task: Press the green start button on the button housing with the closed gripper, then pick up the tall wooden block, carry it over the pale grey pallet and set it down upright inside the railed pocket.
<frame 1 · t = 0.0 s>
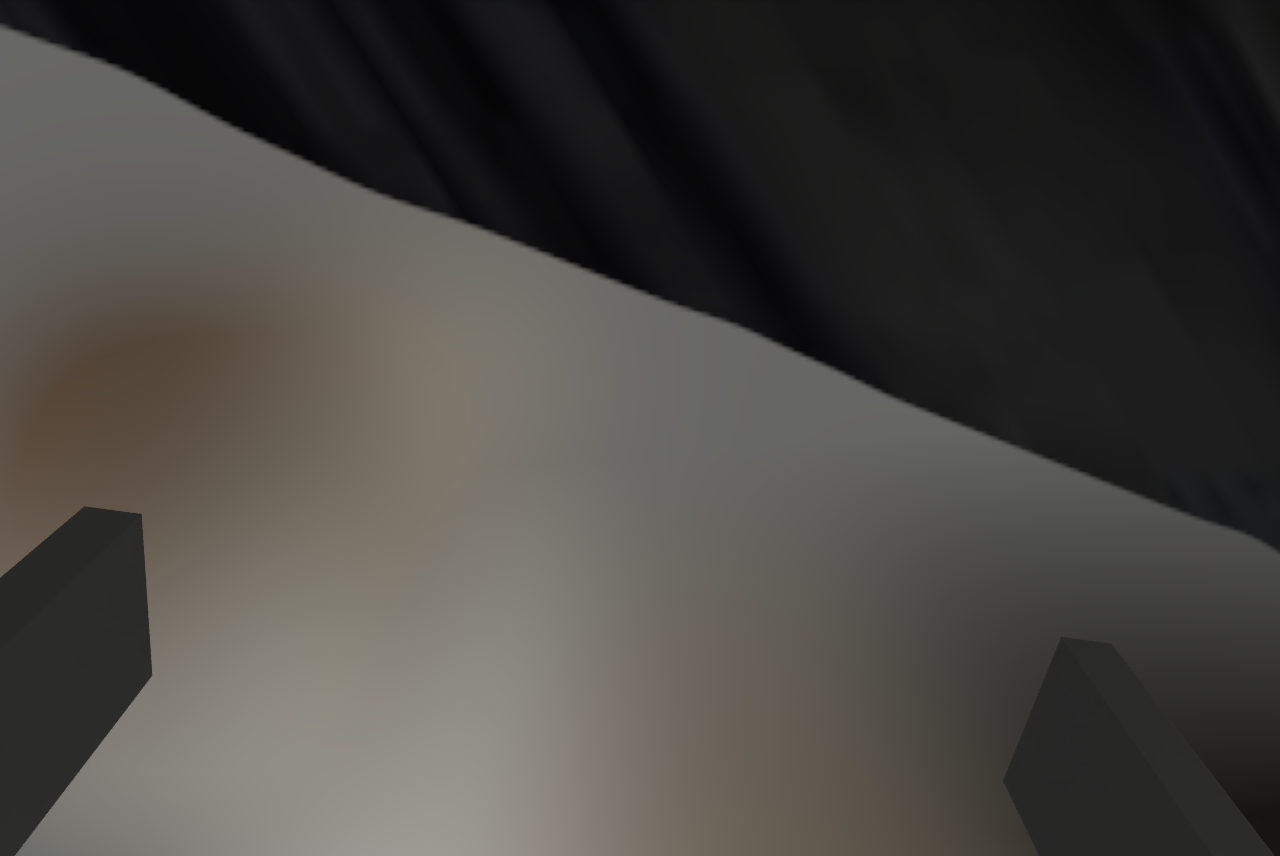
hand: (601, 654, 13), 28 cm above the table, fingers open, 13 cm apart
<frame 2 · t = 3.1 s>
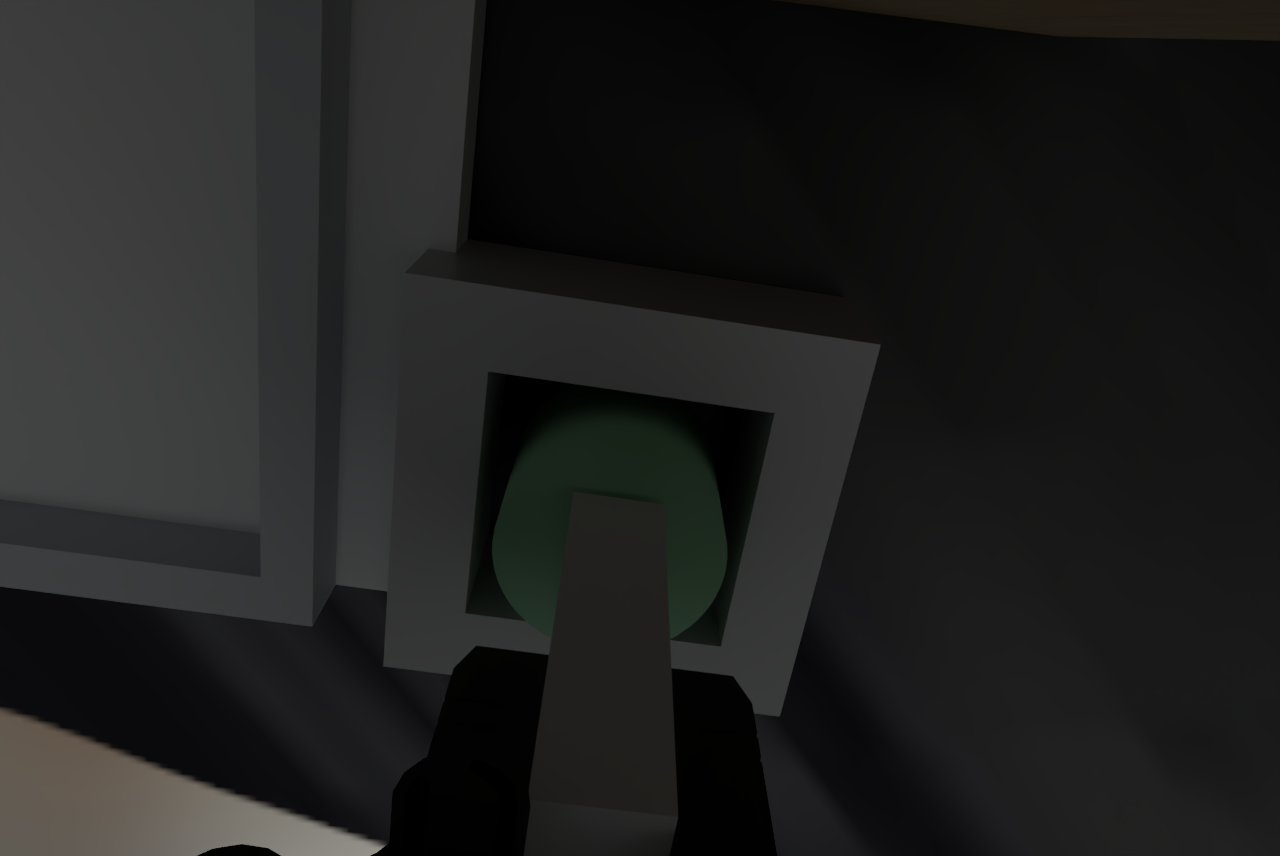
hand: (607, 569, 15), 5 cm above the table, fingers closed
button housing: (616, 449, 20), on the table
start button: (612, 508, 17), point 3 cm above the table, slide at 0.7 cm, touching gripper
pallet: (16, 169, 17), on the table
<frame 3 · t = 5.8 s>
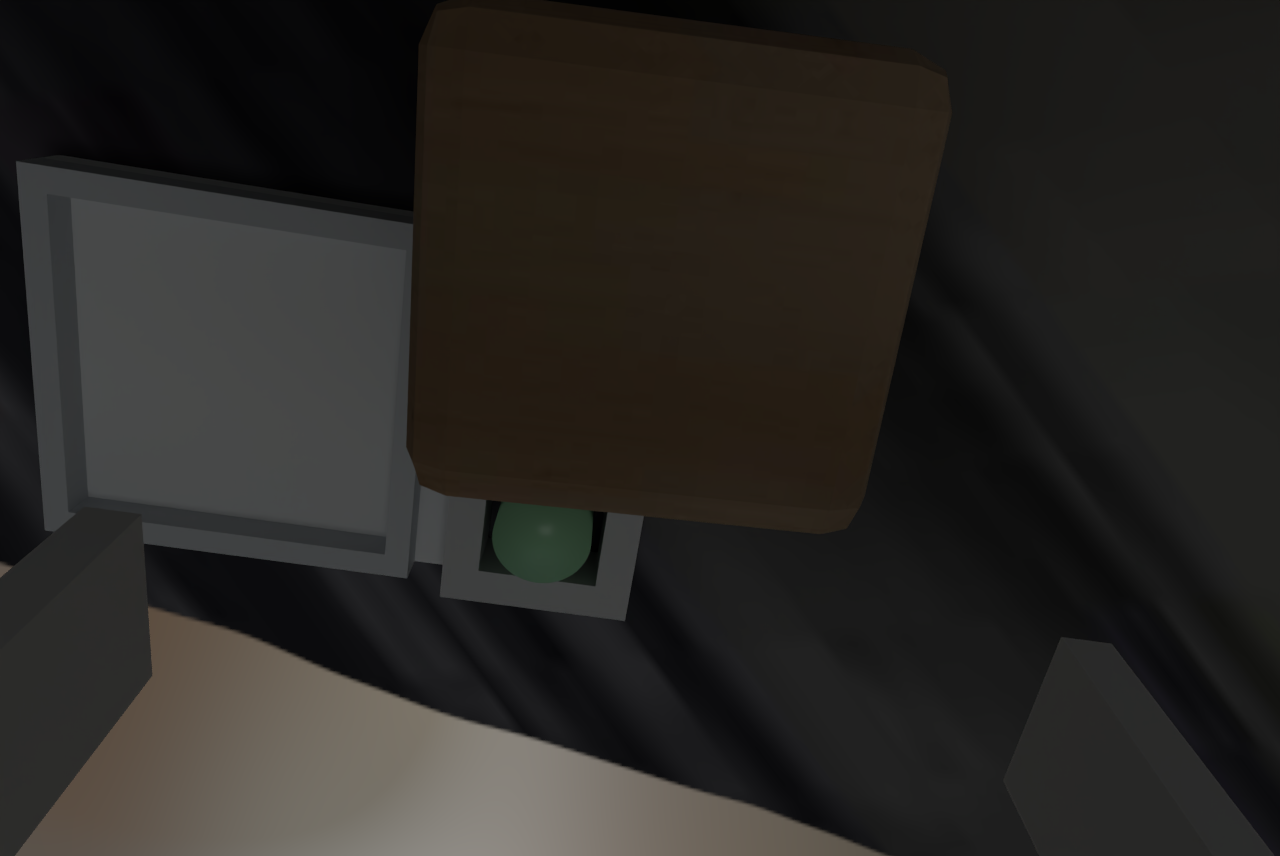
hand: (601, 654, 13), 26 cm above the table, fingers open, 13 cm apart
button housing: (550, 495, 41), on the table
start button: (545, 520, 39), point 2 cm above the table, slide at 0.8 cm
wooden block: (644, 183, 36), on the table
pallet: (278, 370, 39), on the table
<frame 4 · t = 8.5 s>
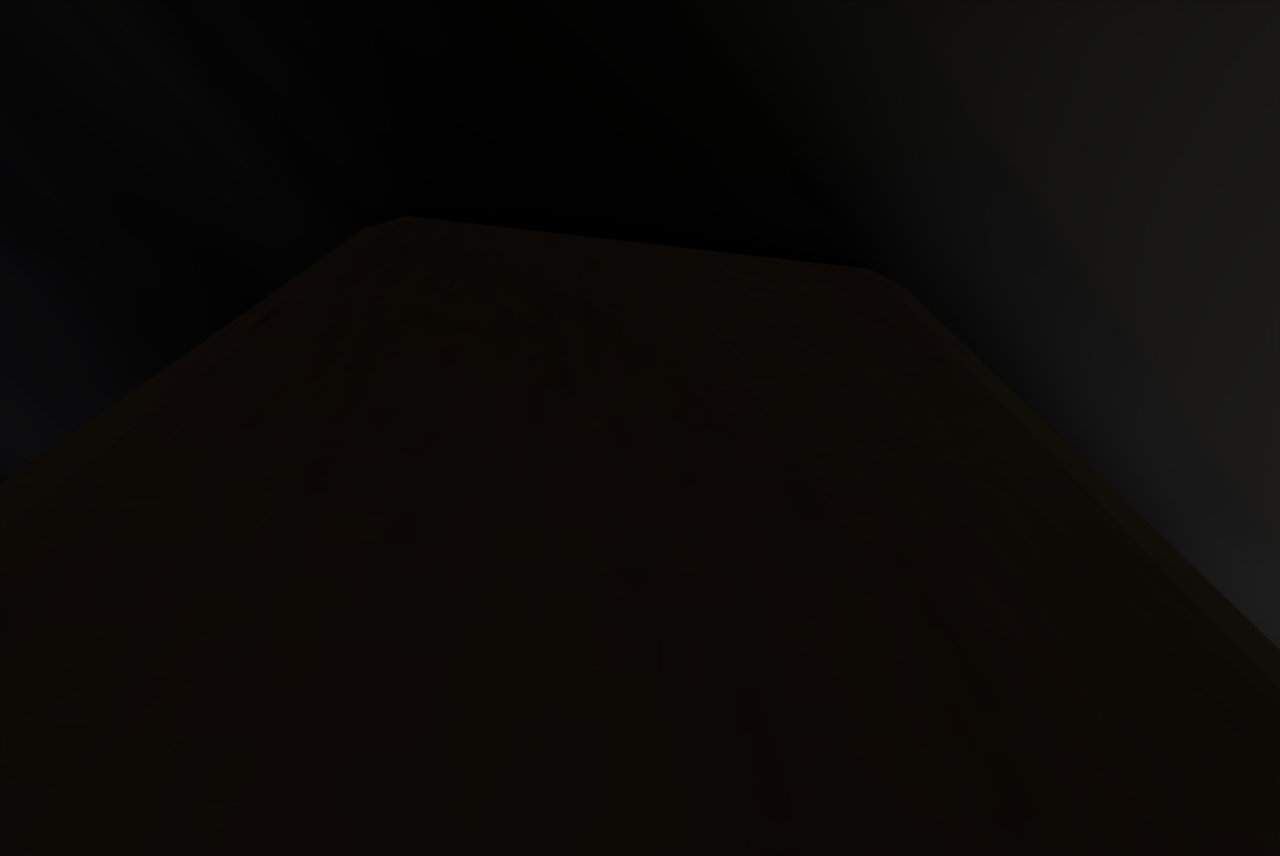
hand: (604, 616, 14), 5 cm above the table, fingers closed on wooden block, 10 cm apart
wooden block: (613, 473, 19), on the table, touching gripper
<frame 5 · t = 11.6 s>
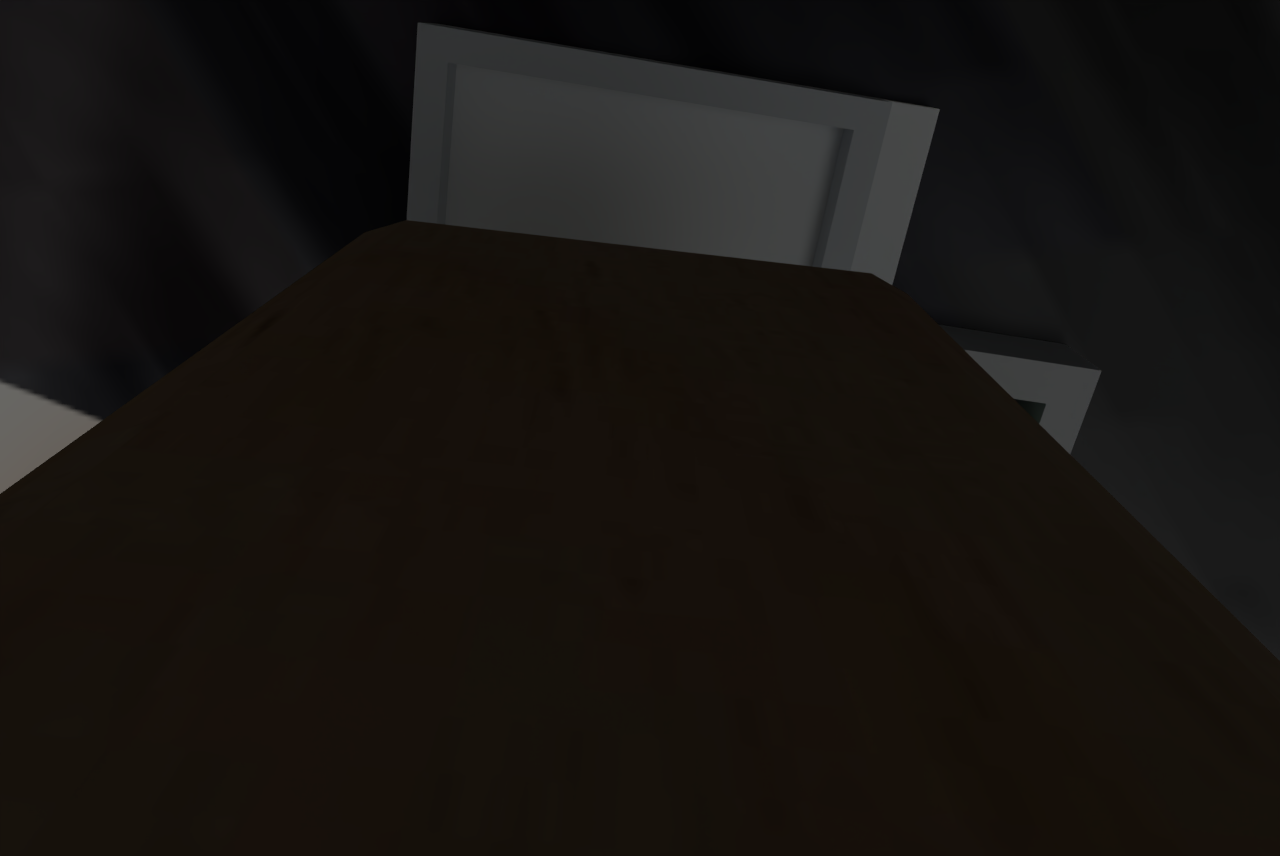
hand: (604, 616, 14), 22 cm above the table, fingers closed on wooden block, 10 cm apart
button housing: (934, 424, 36), on the table
wooden block: (613, 476, 19), point 17 cm above the table, touching gripper
pallet: (651, 280, 34), on the table
when the fingers open (7 cm above the table, at t = 14.8 s): wooden block drops 1 cm, resting on pallet.
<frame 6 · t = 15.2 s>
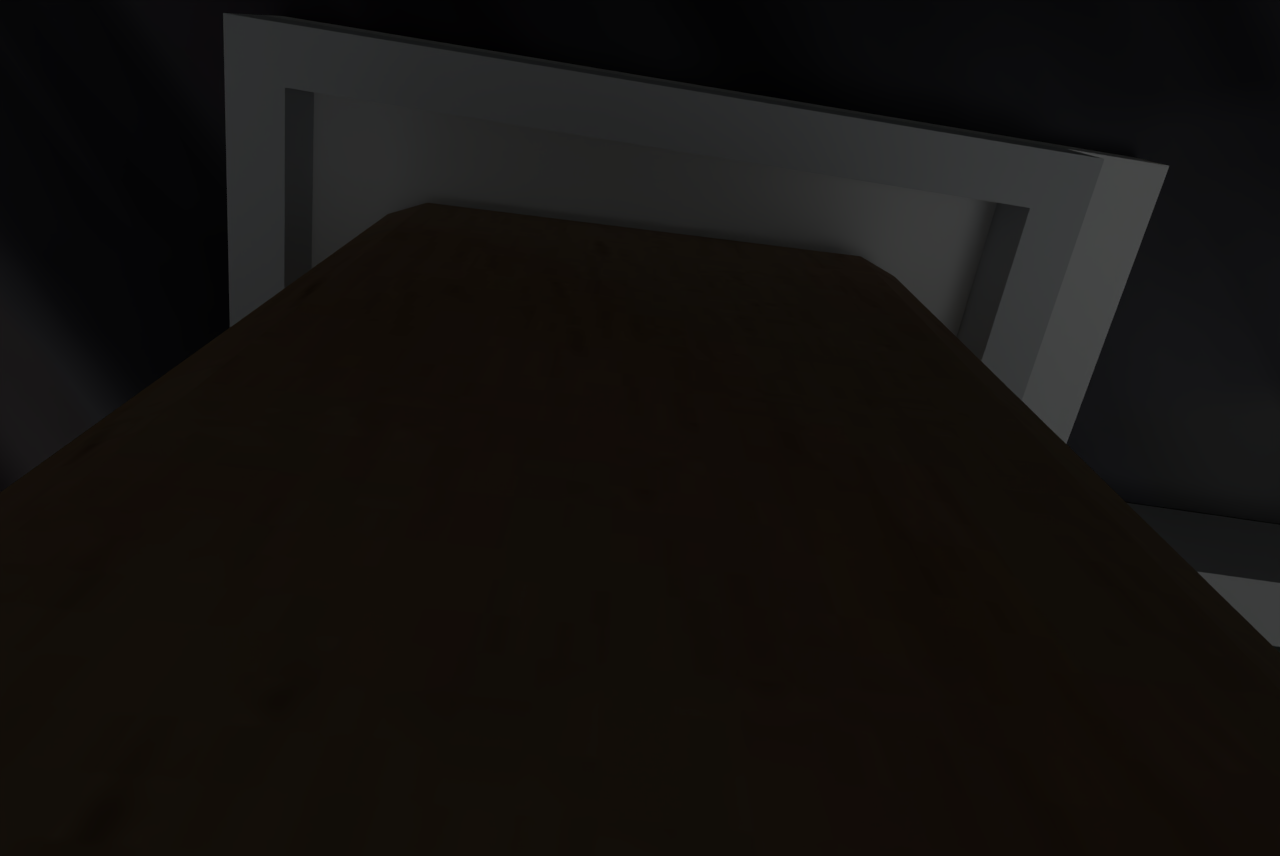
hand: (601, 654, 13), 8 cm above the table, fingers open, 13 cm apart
button housing: (1104, 646, 23), on the table
wooden block: (617, 448, 20), point 1 cm above the table, touching pallet
pallet: (659, 435, 21), on the table
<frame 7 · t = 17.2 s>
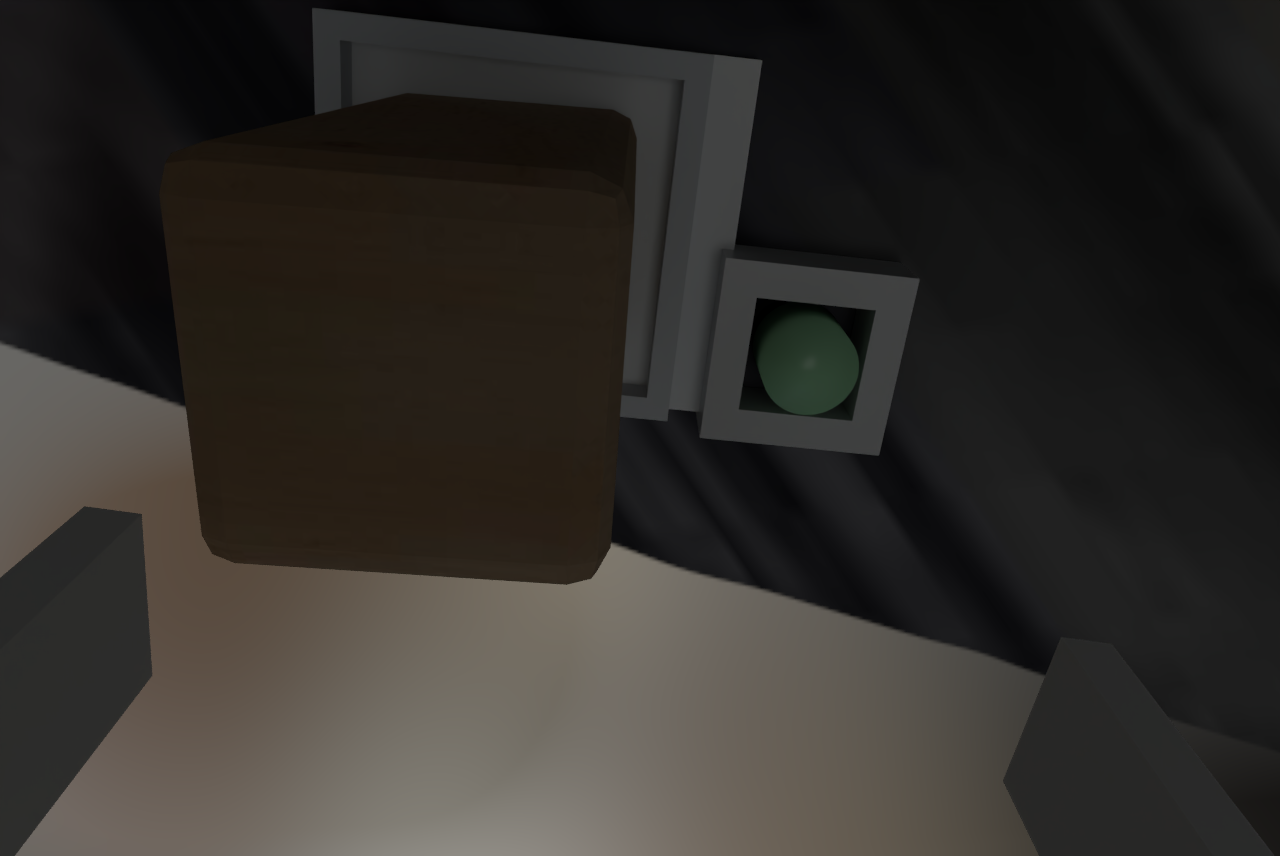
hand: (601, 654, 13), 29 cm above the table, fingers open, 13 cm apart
button housing: (794, 339, 42), on the table
start button: (803, 357, 40), point 2 cm above the table, slide at 0.8 cm
wooden block: (511, 224, 39), point 1 cm above the table, touching pallet
pallet: (536, 222, 40), on the table
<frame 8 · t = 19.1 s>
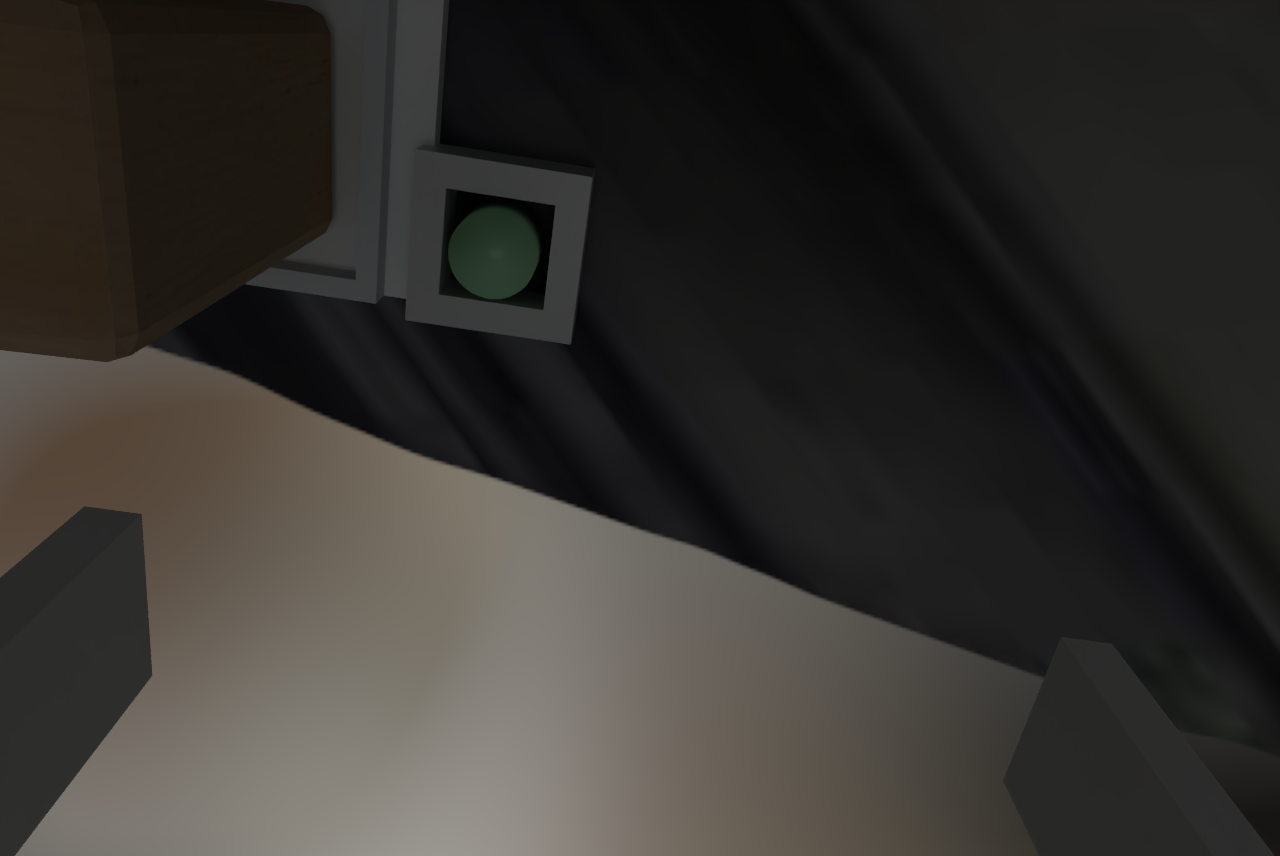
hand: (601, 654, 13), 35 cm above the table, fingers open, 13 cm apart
button housing: (504, 237, 46), on the table
start button: (497, 248, 43), point 2 cm above the table, slide at 0.8 cm
wooden block: (229, 113, 42), point 1 cm above the table, touching pallet
pallet: (259, 114, 43), on the table
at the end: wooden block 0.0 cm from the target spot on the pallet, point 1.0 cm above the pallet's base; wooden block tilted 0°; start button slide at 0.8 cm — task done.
